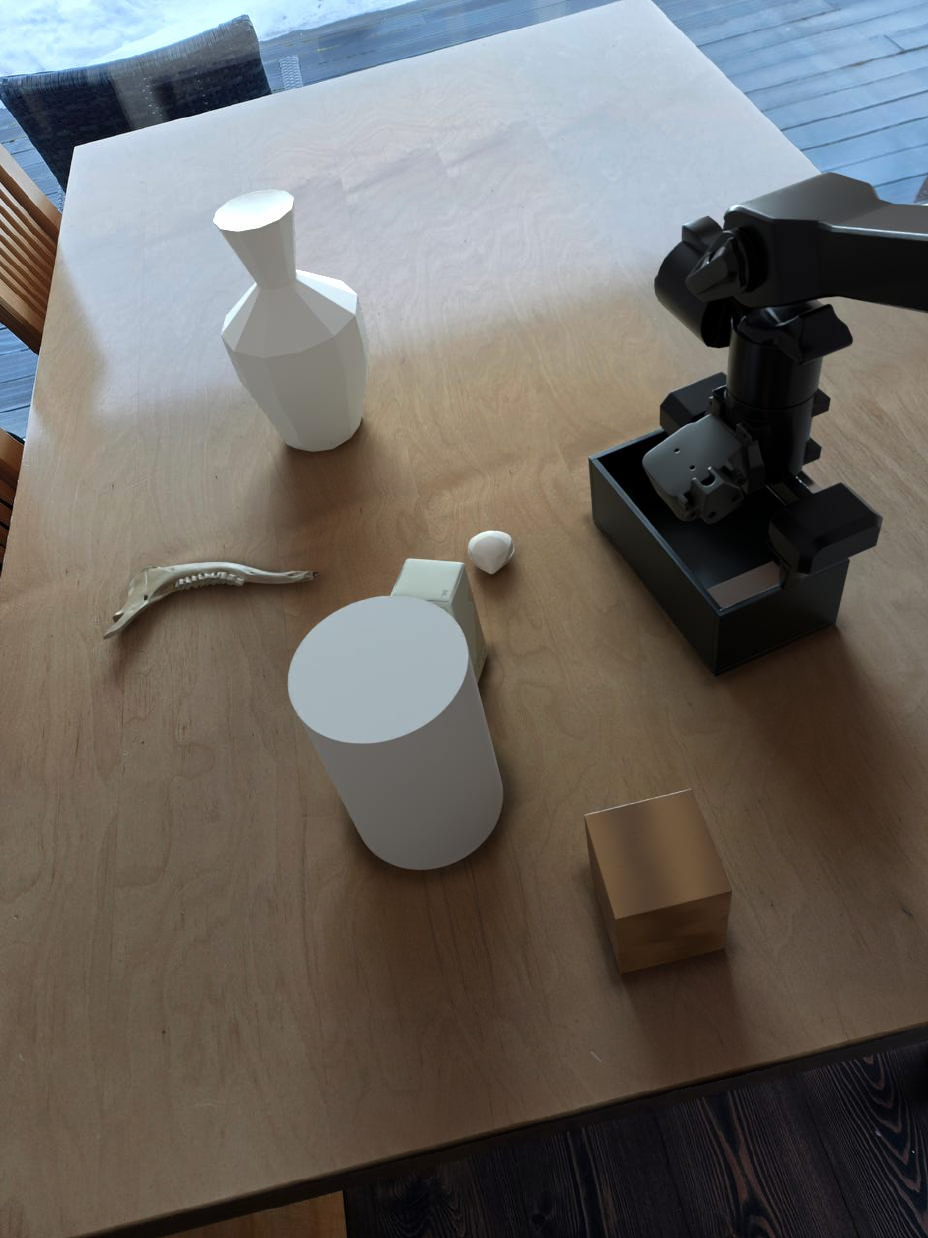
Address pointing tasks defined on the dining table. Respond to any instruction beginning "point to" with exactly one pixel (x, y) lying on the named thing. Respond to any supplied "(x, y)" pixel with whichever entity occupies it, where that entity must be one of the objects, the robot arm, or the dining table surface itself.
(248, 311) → the vase
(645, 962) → the stand
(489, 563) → the white seashell
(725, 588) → the brown block
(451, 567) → the box
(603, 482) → the trash bin
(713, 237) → the robot arm
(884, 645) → the dining table surface
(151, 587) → the jawbone
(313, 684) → the white solid cylinder
